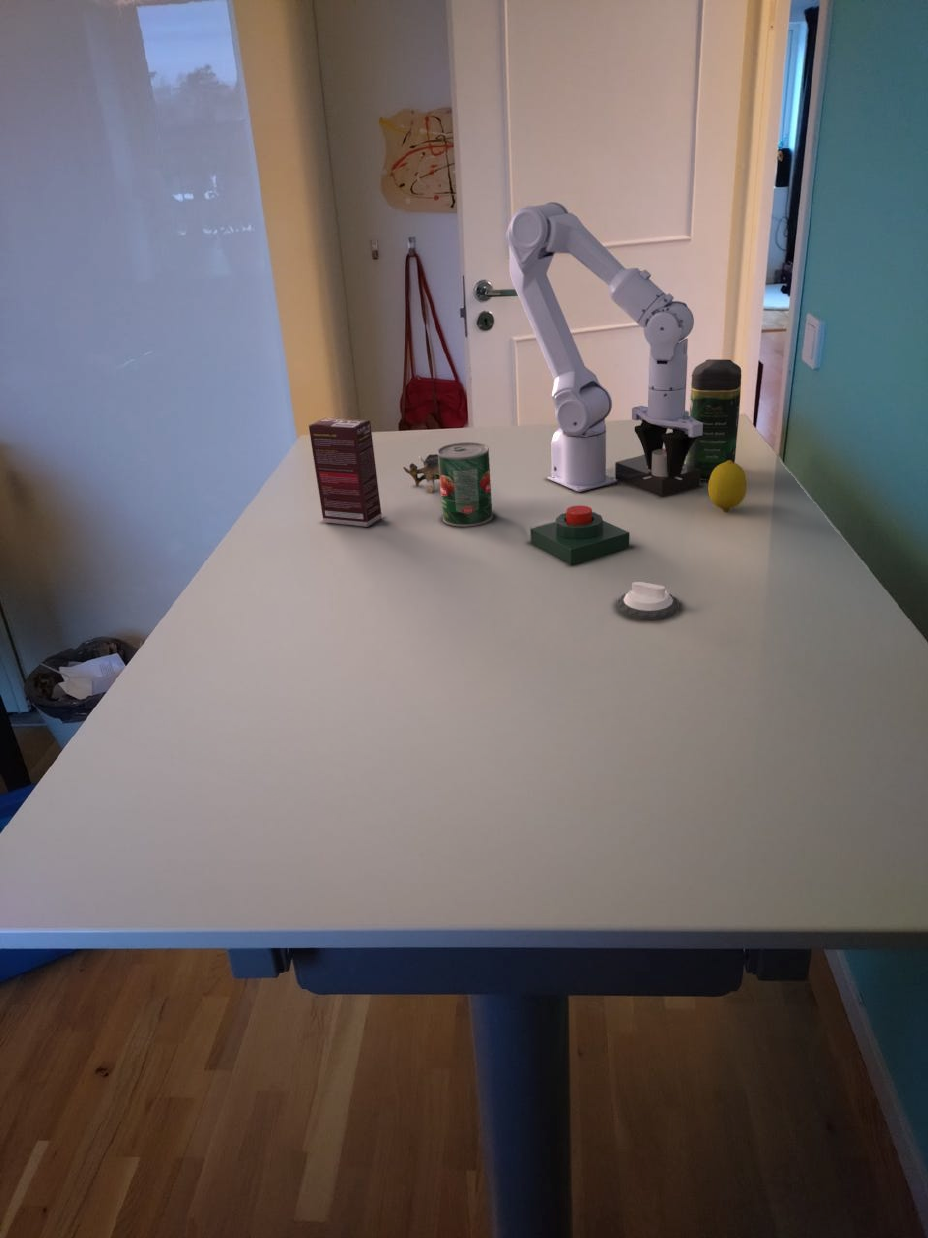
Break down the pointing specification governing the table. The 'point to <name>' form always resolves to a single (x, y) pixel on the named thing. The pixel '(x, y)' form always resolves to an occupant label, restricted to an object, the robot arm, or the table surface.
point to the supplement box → (346, 471)
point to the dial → (659, 463)
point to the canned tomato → (465, 484)
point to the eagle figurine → (426, 471)
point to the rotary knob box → (641, 477)
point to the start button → (578, 515)
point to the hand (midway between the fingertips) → (664, 471)
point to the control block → (579, 539)
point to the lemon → (727, 485)
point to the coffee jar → (715, 414)
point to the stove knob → (648, 602)
